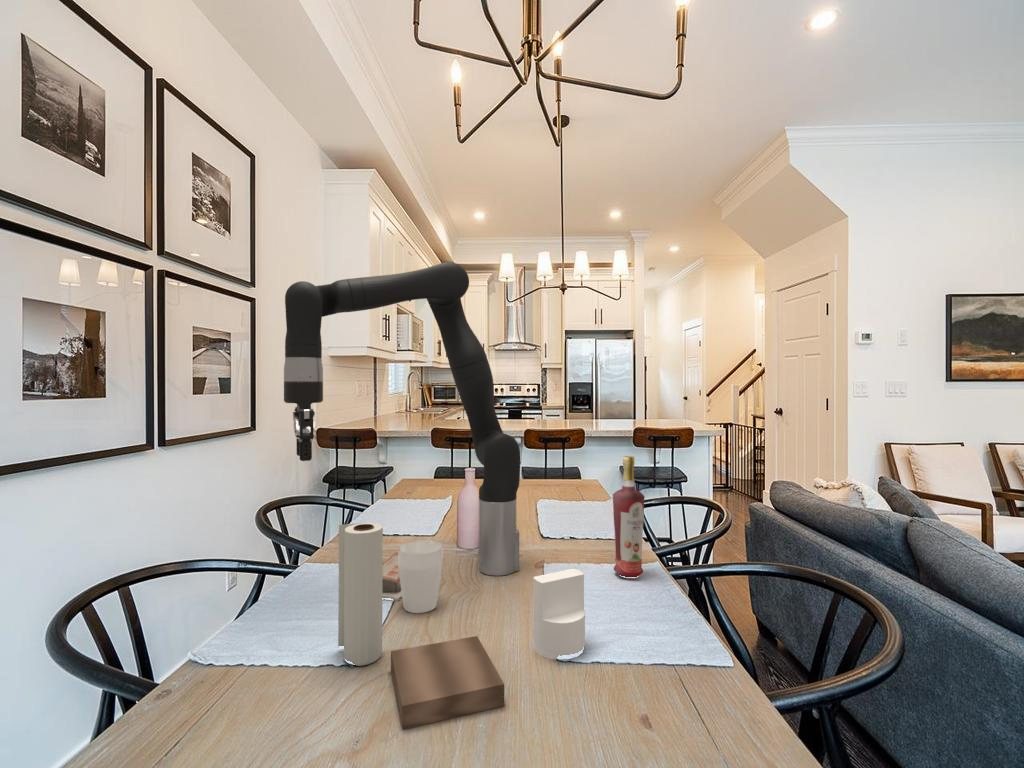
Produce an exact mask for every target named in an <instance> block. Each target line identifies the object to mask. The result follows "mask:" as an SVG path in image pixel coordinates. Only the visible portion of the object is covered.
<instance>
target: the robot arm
mask: <svg viewBox="0 0 1024 768" xmlns="http://www.w3.org/2000/svg"><path fill="white" fill-rule="evenodd" d="M469 286H470V278H469V274H468V273H467V271H466V269H465V268H464V267H462V265H460V264H459V263H456V262H452V261H445V262H441V263H439V264H434V265H432V266H428V267H425V268H421V269H417V270H416V269H415V270H411V271H405V272H401V273H393V274H392V273H391V274H384V275H374V276H373V275H372V276H364V277H363V276H362V277H356V278H355V277H354V278H353V277H352V278H345V279H340V280H335V281H334V282H332V283H329V284H322V285H316V284H313V283H312V282H308V281H303V280H302V281H301V280H300V281H296V282H294V283H291V285H290V286H288V288H287V289H286V291H285V294H284V305H285V306H284V307H285V308H284V309H285V323H286V324H285V325H286V333H285V341H284V366H283V402H284V403H285V404H296V406H295V407H294V411H293V412H292V420H293V431H294V436H295V438H296V455H297V456H299V460H300V461H301V462H307V461H308V462H309V461H312V459H313V454H312V453H313V452H312V451H313V447H312V445H313V441H314V438H315V433H314V432H315V419H316V415H315V414H316V412H315V411H314V408H312V406H311V405H312V404H317V403H318V404H319V403H322V402H323V401H324V368H323V367H324V366H323V358H322V355H323V354H322V351H323V350H322V349H323V348H322V344H323V343H322V335H321V333H322V332H321V331H322V330H321V329H322V320H323V319H322V317H323V318H324V317H327V316H331V315H336V314H340V313H352V312H353V313H354V312H360V311H361V312H362V311H367V310H373V309H374V310H375V309H378V308H379V309H380V308H384V307H387V306H391V305H394V304H399V303H403V302H408V301H409V302H410V301H413V300H424V299H425V300H427V302H428V305H429V307H430V310H431V311H432V314H433V316H434V319H435V322H436V324H437V326H438V329H439V332H440V336H441V340H442V344H443V347H444V350H445V353H446V354H445V355H446V357H447V360H448V364H449V368H450V371H451V374H452V378H453V381H454V384H455V386H456V389H457V392H458V395H459V398H460V401H461V404H462V407H463V409H464V411H465V413H466V417H467V421H468V423H469V424H468V425H469V428H470V433H471V437H472V443H473V447H474V452H475V453H474V454H475V456H476V459H477V460H478V462H479V463H480V464H481V465H482V466H483V477H482V478H483V481H482V483H481V485H480V486H479V489H478V559H477V560H478V570H479V572H480V573H482V574H484V575H487V576H499V577H500V576H506V575H510V574H512V573H515V572H517V571H518V572H519V571H520V531H519V529H517V493H518V489H519V487H520V479H521V478H520V477H521V448H520V446H519V443H518V441H517V440H516V439H515V437H514V436H511V435H510V434H507V433H504V430H503V429H502V427H501V424H500V422H499V421H500V420H499V419H498V416H497V413H496V409H495V407H496V406H495V390H494V389H495V388H494V378H493V374H492V373H493V372H492V370H491V365H490V363H489V360H488V356H487V354H486V350H485V349H484V347H483V345H482V343H481V342H480V341H479V338H478V337H477V336H476V334H475V333H474V330H473V329H472V328H471V326H470V325H469V322H468V321H467V317H466V314H465V311H464V308H463V304H462V298H463V297H464V296H465V294H466V293H467V291H468V290H469Z"/></svg>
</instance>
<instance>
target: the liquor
mask: <svg viewBox="0 0 1024 768" xmlns="http://www.w3.org/2000/svg"><path fill="white" fill-rule="evenodd" d="M622 467H623V476H622V484H621V485H622V486H621V489H618V490H617V491H615V492H614V493H613V494H612V505H613V506H612V507H613V509H612V510H613V528H614V529H613V530H614V549H615V550H614V551H615V552H614V553H615V554H614V555H615V556H614V558H615V564H614V567H613V571H614V572H616V574H617V575H618V574H619V575H621V576H625V577H637V576H639V577H640V576H641V575H642V574H643V573H644V568H642V565H643V564H642V557H643V534H644V533H643V532H644V517H645V515H644V514H645V495H644V494H643V493H642V492H641V491H639V490H637V489H636V484H635V473H634V471H635V470H634V469H635V456H633V455H632V456H631V455H624V456H622ZM619 575H618V576H619ZM621 576H620V577H621Z"/></svg>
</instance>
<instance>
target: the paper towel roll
mask: <svg viewBox="0 0 1024 768" xmlns="http://www.w3.org/2000/svg"><path fill="white" fill-rule="evenodd" d="M383 534H384V530H383V524H382V525H381V524H379V523H376V522H375V523H374V522H361V523H357V522H356V523H347V524H339V525H338V618H337V619H338V626H337V628H338V629H337V630H338V632H337V633H338V636H337V637H338V639H337V640H338V642H337V643H338V645H337V647H338V646H344V649H343V659H344V658H345V659H346V660H347V661H350V662H352V663H353V664H355V665H356V666H359V667H361V666H365V665H366V666H367V665H370V664H373V663H375V662H377V661H378V660H379V659H380V658H381V656H382V654H383V600H382V576H383V563H384V562H383V559H384V558H383V555H384V553H383V552H384V551H383V550H384V549H383V547H384V546H383V542H384V541H383V540H384V535H383Z"/></svg>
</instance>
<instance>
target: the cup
mask: <svg viewBox="0 0 1024 768" xmlns="http://www.w3.org/2000/svg"><path fill="white" fill-rule="evenodd" d="M398 552H399V553H398V570H399V577H400V584H401V591H402V599H401V600H402V606H403V609H404V610H405V611H406V612H408V613H412V614H424V613H428V612H430V611H433V610H434V609H436V607H437V606H438V600H439V592H440V584H441V578H442V571H443V564H444V556H443V555H444V553H443V545H442V543H441V542H439V541H435V540H427V539H426V540H425V539H424V540H423V539H421V540H412V541H408V542H404V543H402V544H400V546H399V547H398Z"/></svg>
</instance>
